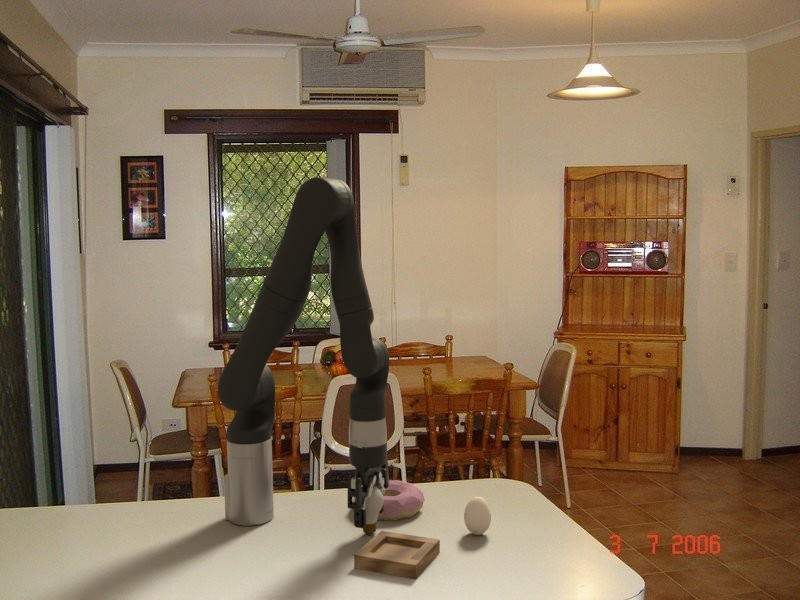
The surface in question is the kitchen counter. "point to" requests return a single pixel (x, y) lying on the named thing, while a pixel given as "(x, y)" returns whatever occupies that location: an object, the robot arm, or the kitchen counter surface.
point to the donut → (401, 501)
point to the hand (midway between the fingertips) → (369, 519)
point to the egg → (477, 516)
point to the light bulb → (373, 510)
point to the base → (397, 554)
